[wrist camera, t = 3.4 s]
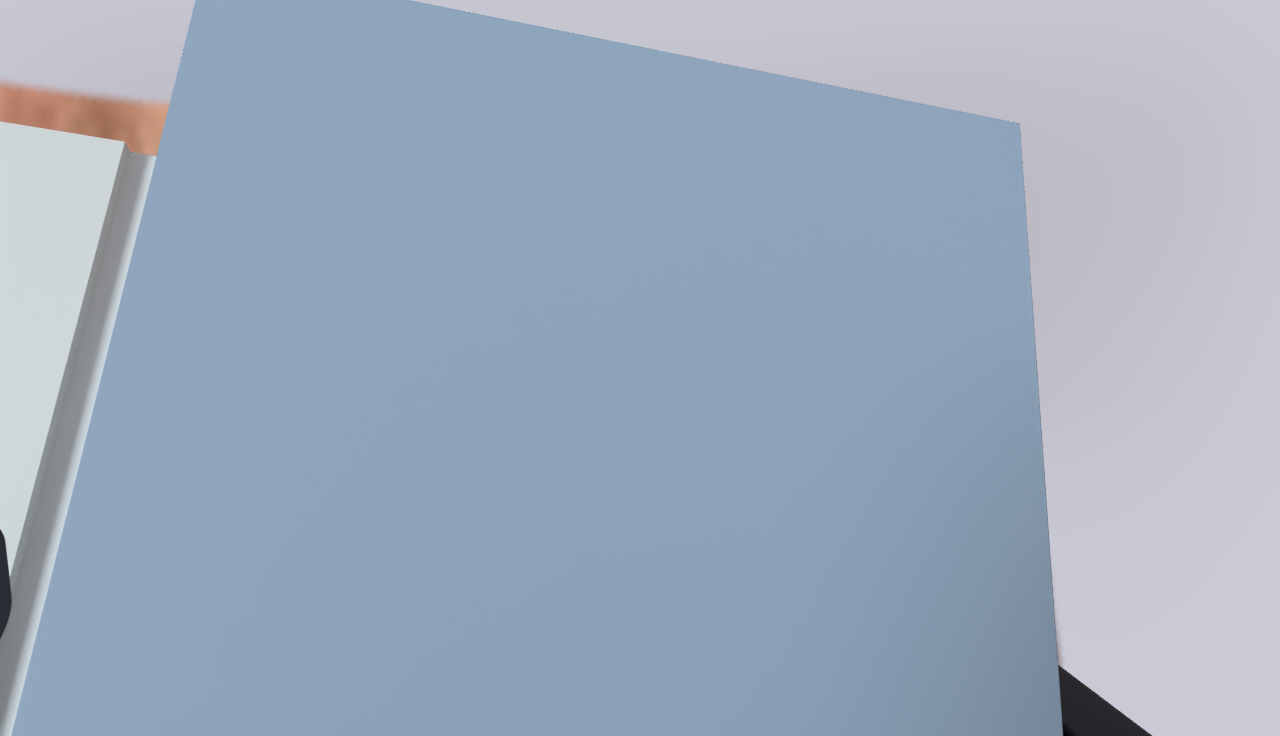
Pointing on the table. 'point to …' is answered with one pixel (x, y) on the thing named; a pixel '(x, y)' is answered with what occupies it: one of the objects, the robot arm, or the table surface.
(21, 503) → the carton
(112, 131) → the table surface
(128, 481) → the box
